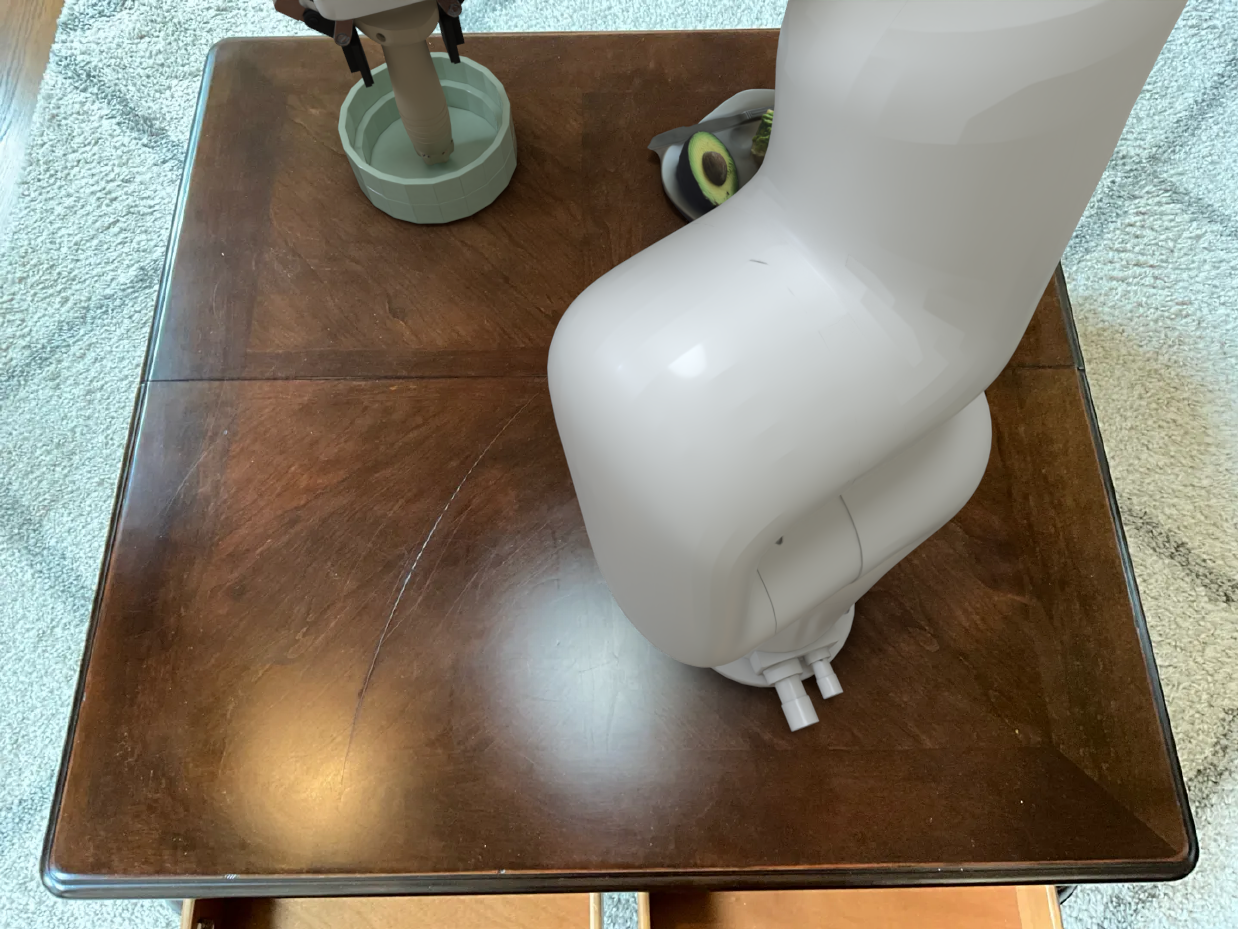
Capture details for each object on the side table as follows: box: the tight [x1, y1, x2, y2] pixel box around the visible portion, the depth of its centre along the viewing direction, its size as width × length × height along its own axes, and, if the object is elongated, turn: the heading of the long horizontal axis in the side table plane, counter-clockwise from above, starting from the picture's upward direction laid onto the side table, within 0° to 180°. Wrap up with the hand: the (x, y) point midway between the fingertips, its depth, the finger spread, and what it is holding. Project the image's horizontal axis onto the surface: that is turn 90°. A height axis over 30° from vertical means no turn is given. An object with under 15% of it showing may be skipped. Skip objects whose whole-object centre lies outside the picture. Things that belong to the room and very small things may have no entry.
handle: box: [353, 0, 454, 165], centre depth 70 cm, size 5×6×15 cm
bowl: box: [337, 51, 518, 225], centre depth 76 cm, size 14×14×6 cm
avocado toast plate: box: [646, 88, 775, 223], centre depth 75 cm, size 19×18×5 cm
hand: (409, 60), depth 68 cm, fingers closed on handle, 6 cm apart
